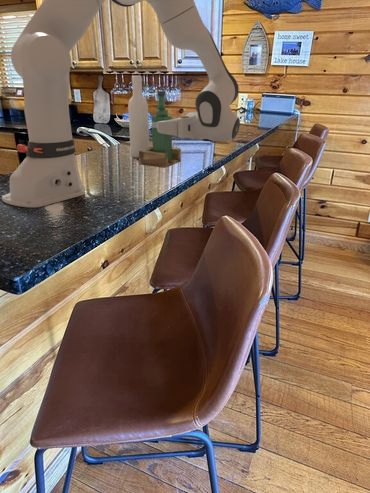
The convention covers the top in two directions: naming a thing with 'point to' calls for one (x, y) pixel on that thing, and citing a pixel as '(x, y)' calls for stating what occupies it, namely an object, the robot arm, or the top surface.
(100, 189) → the top surface
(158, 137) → the green bottle
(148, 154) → the oak rest
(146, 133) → the bottle
